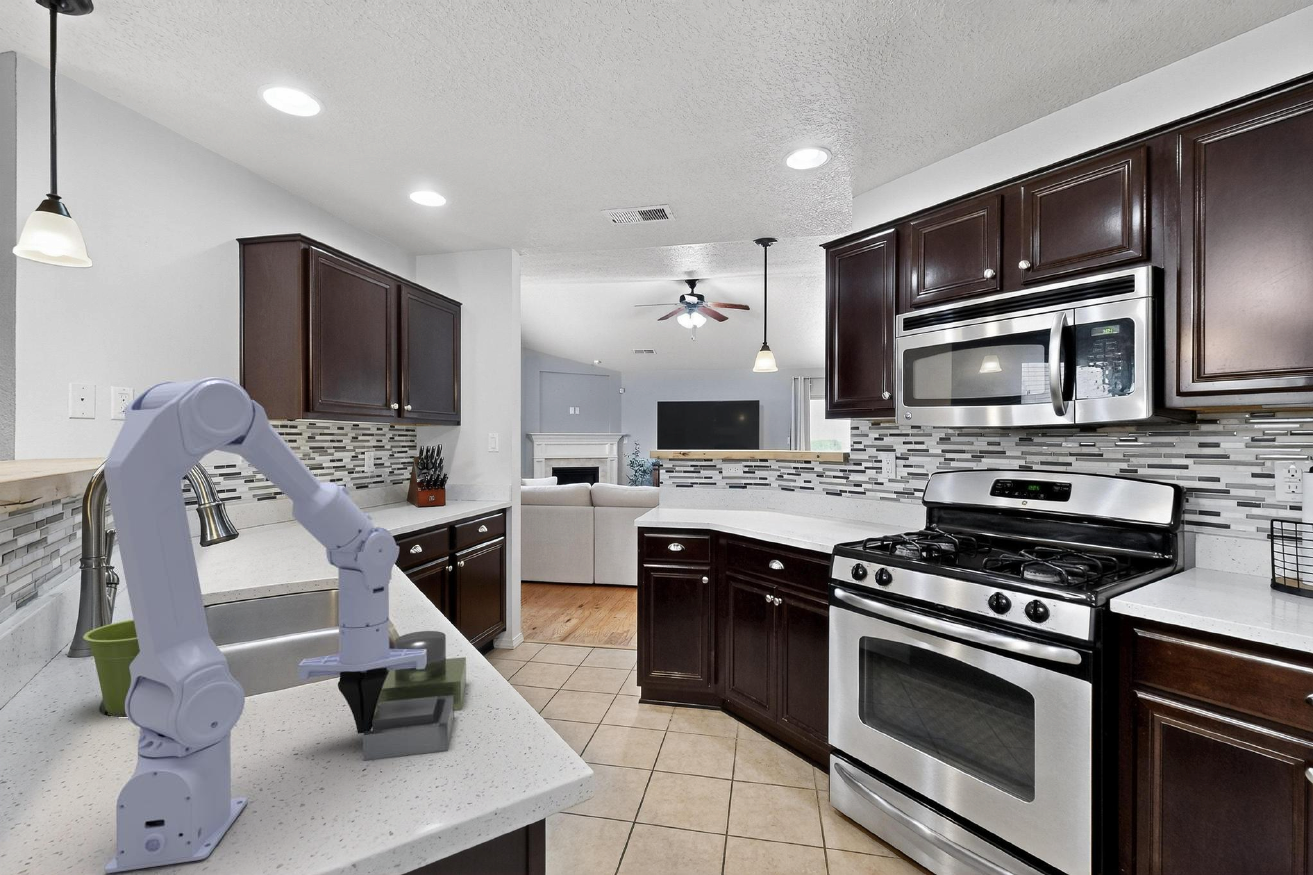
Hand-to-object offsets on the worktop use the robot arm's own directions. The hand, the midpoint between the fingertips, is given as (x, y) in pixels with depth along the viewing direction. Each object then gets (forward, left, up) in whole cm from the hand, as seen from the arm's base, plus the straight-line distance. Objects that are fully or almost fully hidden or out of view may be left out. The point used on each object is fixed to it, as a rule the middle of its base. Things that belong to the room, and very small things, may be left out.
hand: (365, 729), depth 78 cm
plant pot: (+21, +35, -2) cm, 41 cm away
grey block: (0, -5, -2) cm, 5 cm away
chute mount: (+6, -5, -2) cm, 8 cm away
